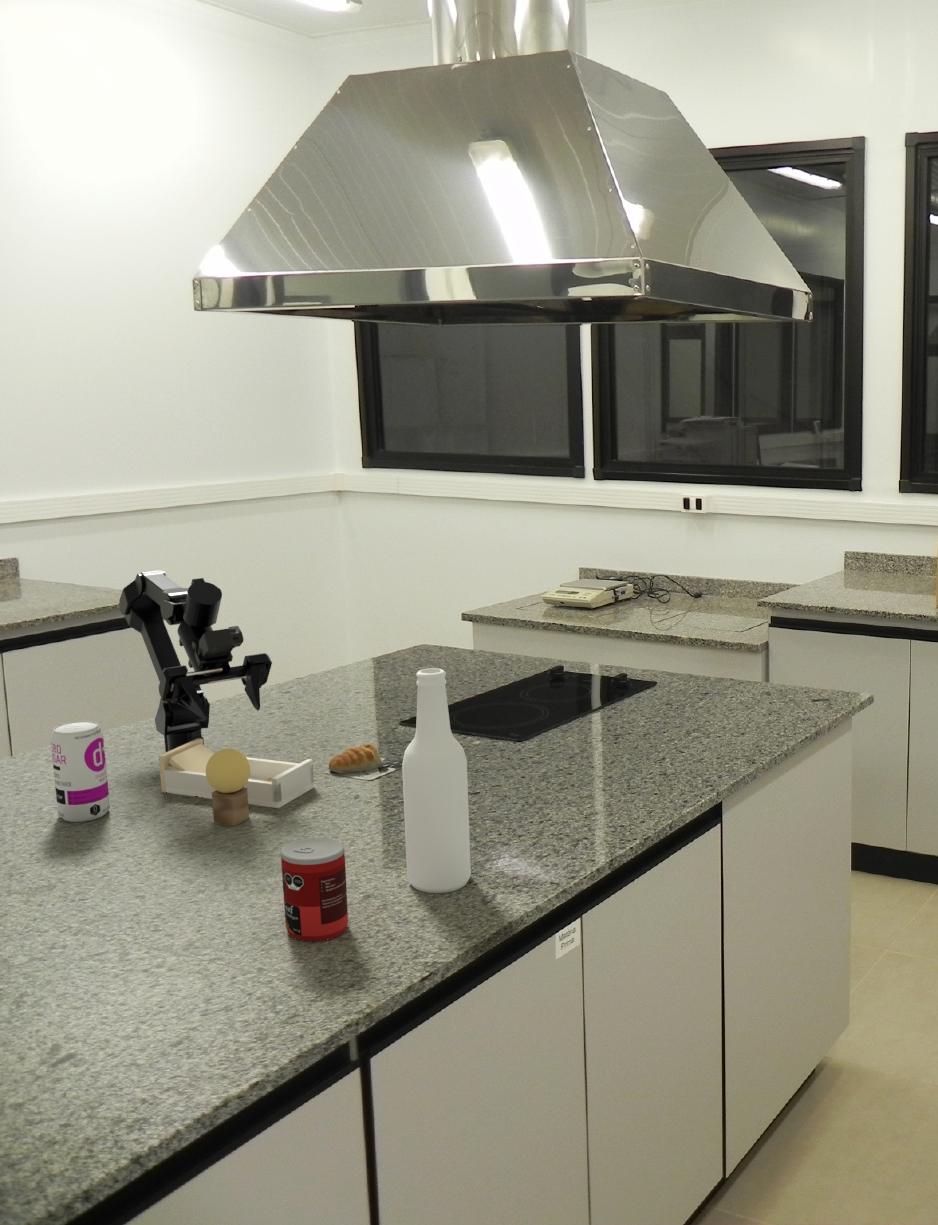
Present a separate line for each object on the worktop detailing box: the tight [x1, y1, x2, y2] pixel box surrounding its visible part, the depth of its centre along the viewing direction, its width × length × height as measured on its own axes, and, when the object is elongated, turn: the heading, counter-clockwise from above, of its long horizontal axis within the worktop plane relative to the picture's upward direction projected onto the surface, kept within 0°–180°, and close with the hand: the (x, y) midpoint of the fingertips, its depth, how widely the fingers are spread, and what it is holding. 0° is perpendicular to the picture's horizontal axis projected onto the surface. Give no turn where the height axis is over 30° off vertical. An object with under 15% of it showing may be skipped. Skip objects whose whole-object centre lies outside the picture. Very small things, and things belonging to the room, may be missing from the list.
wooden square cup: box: [211, 787, 250, 827], centre depth 195 cm, size 4×4×5 cm
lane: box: [158, 738, 315, 809], centre depth 210 cm, size 24×11×6 cm, turn 65°
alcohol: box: [401, 667, 472, 894], centre depth 166 cm, size 9×9×30 cm
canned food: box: [280, 837, 349, 943], centre depth 154 cm, size 8×8×11 cm
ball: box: [206, 748, 250, 793], centre depth 194 cm, size 7×7×7 cm
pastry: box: [328, 743, 382, 774], centre depth 220 cm, size 9×7×4 cm
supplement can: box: [50, 720, 111, 823], centre depth 199 cm, size 8×8×15 cm
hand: (232, 713), depth 202 cm, fingers open, 9 cm apart
